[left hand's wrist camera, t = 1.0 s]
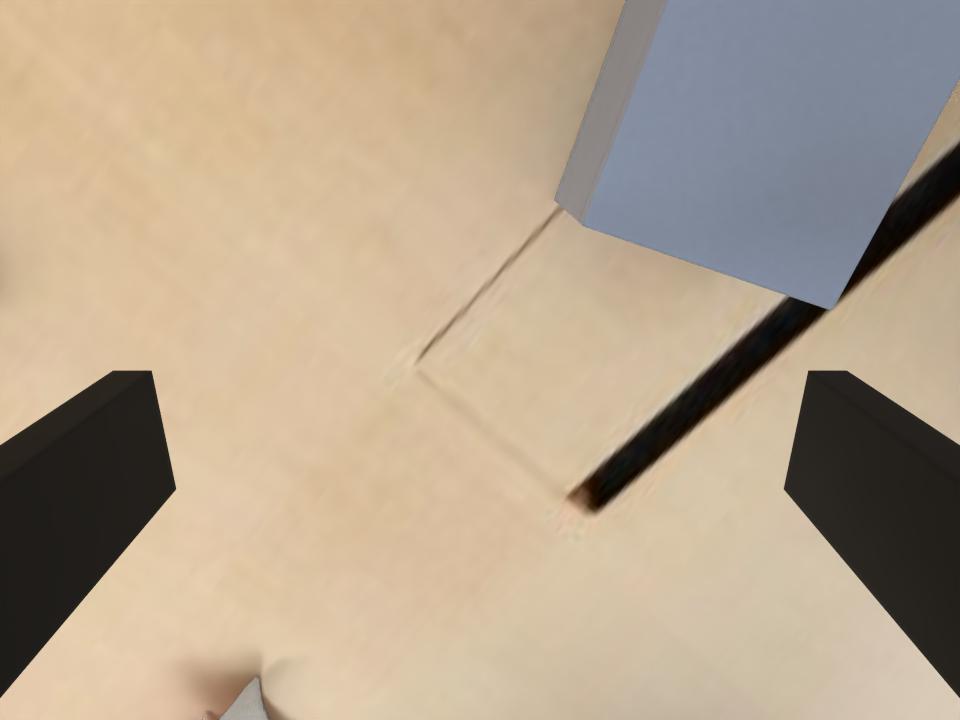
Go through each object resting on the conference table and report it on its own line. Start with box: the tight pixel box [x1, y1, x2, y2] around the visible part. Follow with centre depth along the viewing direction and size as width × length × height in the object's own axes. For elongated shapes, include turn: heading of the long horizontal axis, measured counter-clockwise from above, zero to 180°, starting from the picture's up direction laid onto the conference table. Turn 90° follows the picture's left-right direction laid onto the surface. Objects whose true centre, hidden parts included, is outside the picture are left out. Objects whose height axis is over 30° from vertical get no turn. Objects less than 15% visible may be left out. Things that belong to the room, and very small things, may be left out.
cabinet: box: [554, 0, 960, 310], centre depth 26 cm, size 19×11×10 cm, turn 162°
